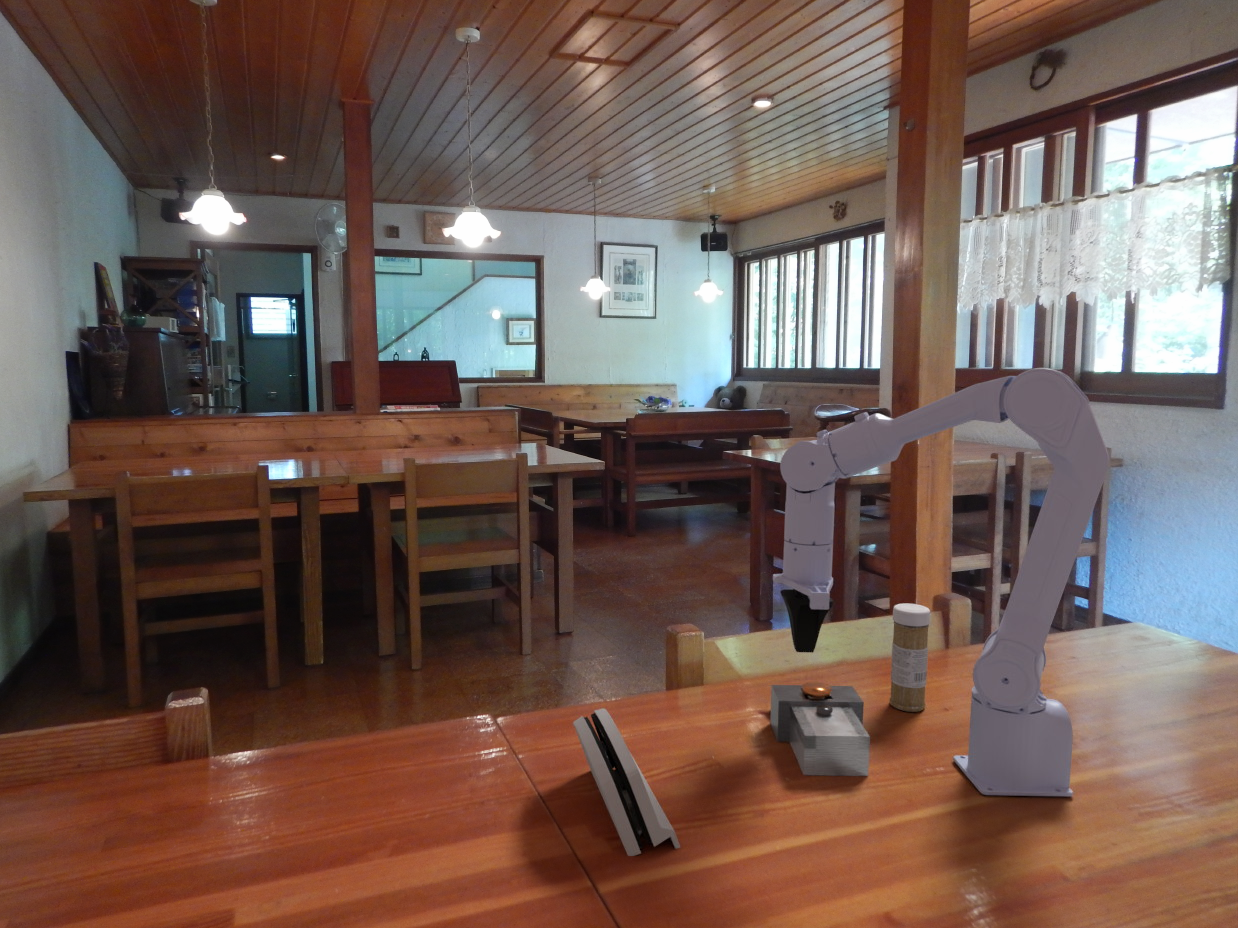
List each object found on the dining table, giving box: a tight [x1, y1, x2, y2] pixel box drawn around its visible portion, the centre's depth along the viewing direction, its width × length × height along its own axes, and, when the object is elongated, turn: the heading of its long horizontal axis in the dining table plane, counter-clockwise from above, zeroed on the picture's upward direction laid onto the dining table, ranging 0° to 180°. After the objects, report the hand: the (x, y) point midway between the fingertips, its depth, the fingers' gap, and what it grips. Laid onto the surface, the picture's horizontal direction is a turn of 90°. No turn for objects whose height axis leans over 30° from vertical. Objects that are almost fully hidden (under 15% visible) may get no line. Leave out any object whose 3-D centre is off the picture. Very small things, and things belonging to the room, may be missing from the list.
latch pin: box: [802, 681, 831, 699], centre depth 97 cm, size 3×3×4 cm
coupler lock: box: [789, 705, 871, 777], centre depth 91 cm, size 8×7×5 cm
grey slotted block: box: [572, 707, 681, 857], centre depth 80 cm, size 17×5×10 cm, turn 14°
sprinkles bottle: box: [889, 602, 931, 713], centre depth 105 cm, size 5×5×13 cm
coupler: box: [770, 684, 865, 743], centre depth 98 cm, size 15×10×5 cm
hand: (803, 650), depth 97 cm, fingers closed
